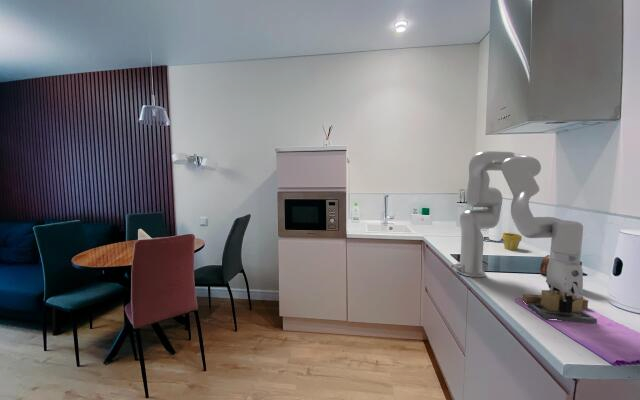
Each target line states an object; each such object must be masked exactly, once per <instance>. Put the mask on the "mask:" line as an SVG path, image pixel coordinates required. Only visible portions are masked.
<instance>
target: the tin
mask: <svg viewBox="0 0 640 400" xmlns="http://www.w3.org/2000/svg"><path fill="white" fill-rule="evenodd" d="M549 260H550V254H547V255H545V256H544V257H543V258H542V261H541V263H540V268H539V273H540V274H542V275H546V276H547V268H548V263H549Z"/></svg>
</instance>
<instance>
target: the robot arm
mask: <svg viewBox="0 0 640 400" xmlns="http://www.w3.org/2000/svg"><path fill="white" fill-rule="evenodd" d="M468 164H469V165H468V183H467V188H466V189H467V190H466V198H465V201H466V204H467V205H468V206H469V207H472V208H477V209H468V210H464V211H462V213H461V214H460V215H459V224H460V232H461V233H460V236H461V237H460V257H459V261H458V262H457V263H449V268H453V269H454V270H455V271H456V272H457V273H458V274H460V275H462V276H466V277H470V278H483V277H486V272H485V271H484V270H483V261H484V260H483V257H484V242H485V241H484V235H483V233H482V231H481V230H482V229H483V230H485V229H486V230H487V229H488V230H489V229H493V228H495V227H497V225H498V224H499V222H500V217H501V211H502V205H503V195H502V193H501V190H499V189H498V188H496V187H493V186H492V187H490V182H491V181H490V180H491V179H490V175H489V173H488V171H496V172H497V171H500V172H502V175H503V176H504V179H505V181H506V183H507V185H508V188H509V189H510V191H511V194H512V196H513V197H512V201H511V204H510V215H511V219H512V221H513V223H514V225H515V228H516V229H517V230H518V232H519V234H520V235H521V236H524V237H525V238H528V239H541V238H543V239H545V238H547V239H549V238H551V241H550V250H549V252H550V253H549V255H550V260H549V263H548V268H547V275H546V277H545V278H546V279H545V283H546V284H547V285H548V286H547V287H548V288H549V290H553V291H562V300H561V303H560V312H562V313H572V303H573V302H574V301H575V300H578V299H581V297H580V295H582V294H583V288H584V278H583V277H584V276H583V273H582V269H583V268H582V267H583V266H582V267H581V265H580V261H581V254H582V245H583V244H582V243H583V233H584V226H583V224H582V223H581V222H579V221H574V220H564V219H560V218H557V217H554V216H534V215H533V213H532V211H531V208H530V205H529V203H530V199H531V198H532V197H533V196H536V194H538V193H539V192H540V187H539V185H538V183H537V181H536V179H535V177H537V176H538V175H539V174H540V172H541V170H542V166H541V162H540V161H539V160H538V159H537V158H535V157H533V156H528V155H526V154H525V155H524V154H520V153H516V152H512V151H496V150H491V151H490V150H489V151H488V150H487V151H486V150H485V151H480V152H477V153H476V154H474V155H473V156H472V157H471V159H470V160H469V163H468ZM478 208H482V209H478ZM569 291H570V292H569ZM566 294H569V296H568V297H567V295H566Z"/></svg>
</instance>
